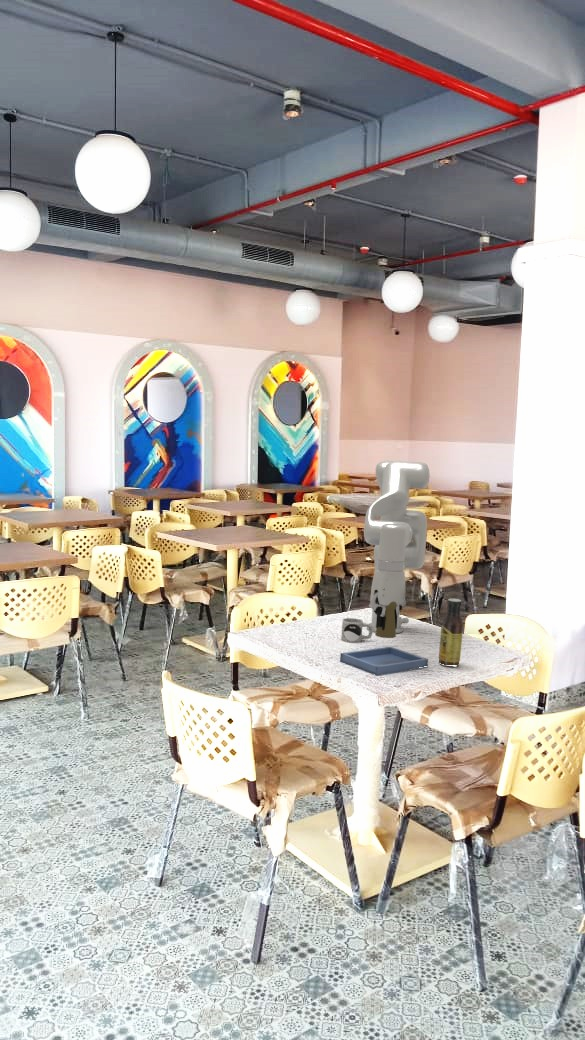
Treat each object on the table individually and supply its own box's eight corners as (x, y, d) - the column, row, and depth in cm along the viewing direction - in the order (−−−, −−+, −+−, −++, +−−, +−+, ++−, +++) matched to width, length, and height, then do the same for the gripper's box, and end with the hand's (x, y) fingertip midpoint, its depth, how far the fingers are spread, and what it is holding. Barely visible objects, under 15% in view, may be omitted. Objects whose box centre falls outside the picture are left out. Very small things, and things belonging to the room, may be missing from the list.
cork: (395, 634, 242) (398, 597, 241) (396, 638, 236) (398, 601, 235) (375, 632, 243) (377, 595, 242) (375, 637, 237) (377, 599, 236)
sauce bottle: (436, 661, 247) (441, 596, 246) (457, 663, 247) (462, 598, 245) (440, 667, 241) (445, 600, 239) (461, 668, 241) (466, 602, 239)
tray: (389, 654, 253) (390, 646, 253) (427, 667, 240) (428, 659, 240) (340, 661, 241) (340, 653, 241) (376, 675, 228) (377, 667, 228)
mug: (342, 642, 265) (343, 622, 264) (340, 637, 272) (341, 617, 271) (372, 644, 265) (374, 623, 265) (370, 639, 272) (371, 619, 271)
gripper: (402, 563, 246) (398, 623, 247) (360, 565, 236) (356, 628, 237) (420, 567, 240) (415, 629, 241) (378, 569, 230) (373, 633, 231)
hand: (386, 628), depth 239 cm, fingers closed on cork, 3 cm apart
